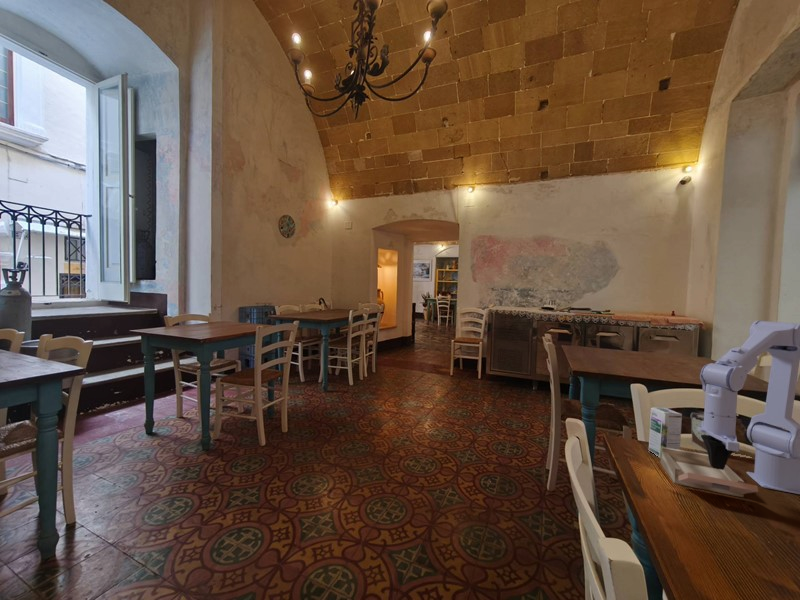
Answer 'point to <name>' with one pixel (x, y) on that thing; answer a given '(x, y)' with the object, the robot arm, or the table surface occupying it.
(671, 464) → the tray
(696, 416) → the food container
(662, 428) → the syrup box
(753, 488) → the panel
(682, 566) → the table surface
